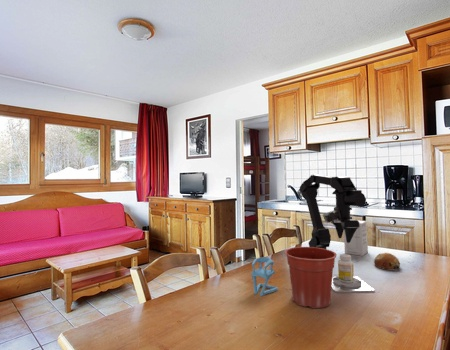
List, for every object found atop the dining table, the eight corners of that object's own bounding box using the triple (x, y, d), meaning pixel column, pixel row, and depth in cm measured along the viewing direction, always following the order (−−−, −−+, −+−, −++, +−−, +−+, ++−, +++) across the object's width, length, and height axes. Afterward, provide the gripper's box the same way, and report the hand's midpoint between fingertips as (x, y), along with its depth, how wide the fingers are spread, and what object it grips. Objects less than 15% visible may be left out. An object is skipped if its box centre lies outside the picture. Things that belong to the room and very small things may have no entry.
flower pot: (339, 294, 98) (337, 248, 98) (336, 316, 83) (334, 261, 83) (291, 288, 105) (290, 245, 105) (281, 307, 90) (279, 256, 90)
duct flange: (322, 278, 114) (322, 274, 114) (357, 277, 114) (357, 274, 114) (335, 292, 100) (335, 288, 100) (374, 291, 100) (374, 287, 100)
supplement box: (368, 252, 151) (367, 220, 151) (363, 256, 144) (362, 223, 144) (349, 249, 157) (348, 219, 157) (344, 253, 150) (343, 221, 151)
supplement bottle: (346, 284, 103) (345, 258, 104) (335, 279, 108) (334, 254, 108) (357, 281, 106) (356, 256, 106) (345, 277, 111) (344, 252, 111)
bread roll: (395, 272, 129) (391, 254, 133) (406, 269, 120) (401, 250, 123) (373, 272, 130) (369, 254, 134) (382, 269, 121) (378, 250, 124)
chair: (248, 293, 102) (247, 259, 102) (260, 285, 108) (259, 254, 108) (267, 298, 97) (266, 263, 97) (278, 289, 104) (277, 257, 104)
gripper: (318, 203, 134) (319, 236, 133) (332, 207, 115) (333, 245, 115) (341, 202, 133) (342, 235, 133) (359, 206, 115) (360, 245, 114)
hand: (344, 240), depth 124 cm, fingers open, 9 cm apart
